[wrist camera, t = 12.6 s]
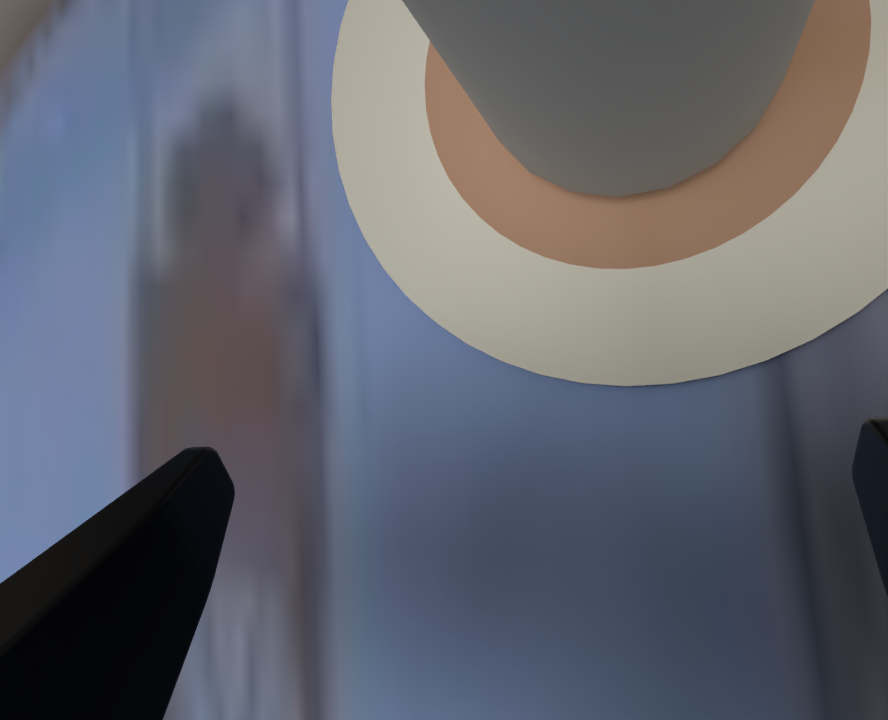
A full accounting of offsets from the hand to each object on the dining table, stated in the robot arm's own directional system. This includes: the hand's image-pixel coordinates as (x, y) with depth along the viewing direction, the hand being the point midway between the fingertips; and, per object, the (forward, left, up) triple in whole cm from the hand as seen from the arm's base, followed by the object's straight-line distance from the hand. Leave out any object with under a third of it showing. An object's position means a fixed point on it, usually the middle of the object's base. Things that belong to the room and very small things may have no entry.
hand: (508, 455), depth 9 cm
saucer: (+1, -9, -9) cm, 13 cm away
